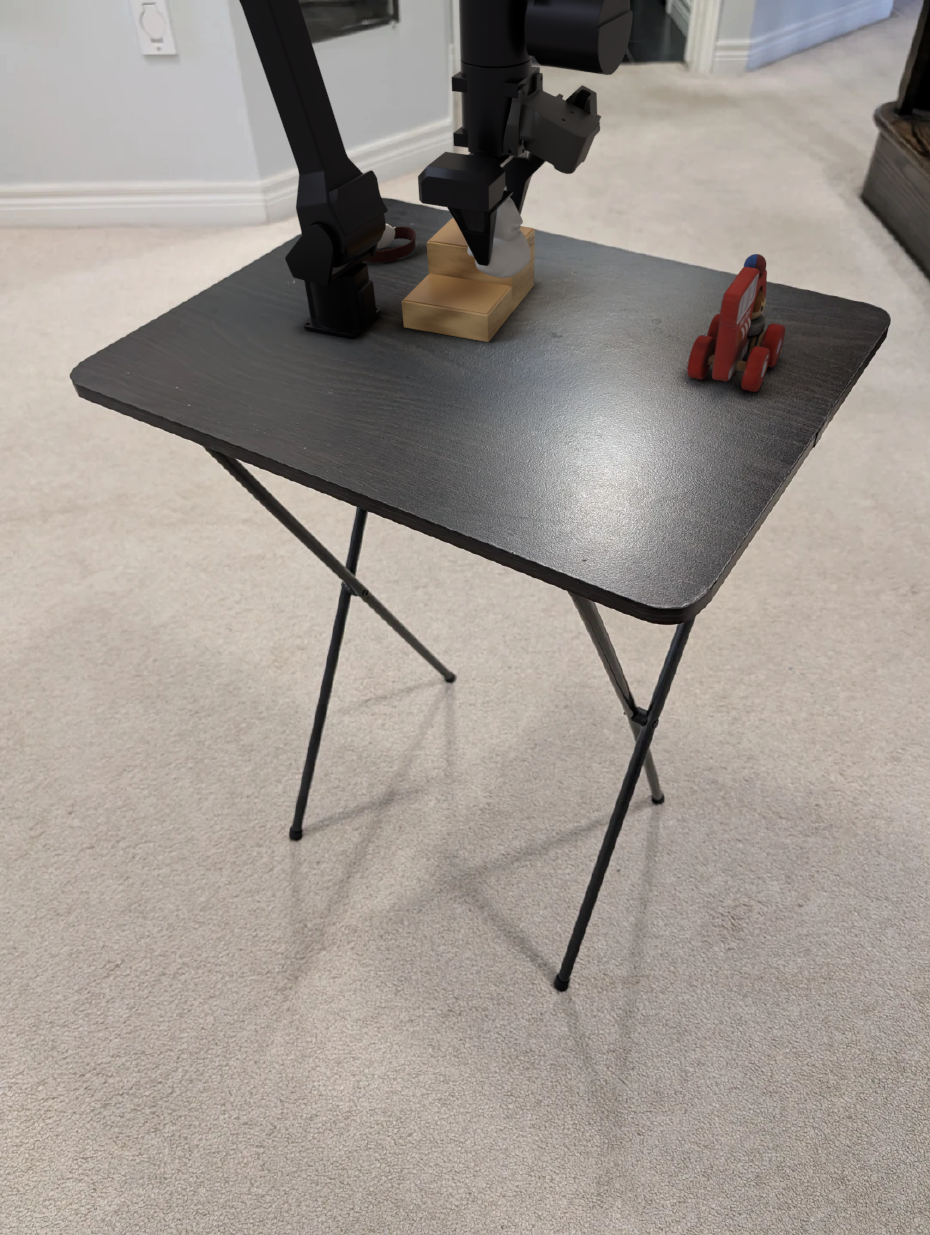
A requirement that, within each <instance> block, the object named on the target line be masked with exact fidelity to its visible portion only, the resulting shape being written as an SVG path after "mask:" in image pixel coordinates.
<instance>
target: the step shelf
mask: <svg viewBox="0 0 930 1235" xmlns="http://www.w3.org/2000/svg"><path fill="white" fill-rule="evenodd" d="M519 231H521V232H522V233H523V234H524V236H525V238H526V240H527V242H528V245H529V247H530V261H529V263H528V264H527V265H526V266H525V267H524V268H523V269H522V270H521V271H520V272H518V273H517V274H515V275H514V276H512V277H509V278H497V277H493V276H489V275H487V274H485V273H484V272H481V271H479V270H478V269H477V267H476V263H475V258H474V257H473V256H470V255H469V254H468V244H467V242H466V240H465V238H464V236H463V234H462V232H461V230H460V229H459V227H458V225H457V223H456V221H455V220H454V218H453V217H452V218H451V219H449V221H448V222H446V223H445V224H444V225H443V226H442V227H441V228H440V229H439V230H437V232H436V233H434V235H432V236H431V238H430V239H428V241H427V242H426V250H427V254H426V255H427V267H428V274H427V275H426V276H425V277H424V278H423V279H422V280H421V281H420V282H419V283H418V284H417V285H416V286H415V287H414V288H413V289H412V290H411V291H410V292H409V293H408V294H407V295H406V296H405V297H404V298H403V299H402V300H401V311H402V312H401V313H402V321H403V328H406V329H411V330H418V331H422V332H423V331H424V332H429V333H434V334H440V335H445V336H451V337H456V338H461V339H467V340H468V339H469V340H474V341H479V342H484V343H485V342H486V343H489V342H490V341H491V340H492V338H494V336H495V335H496V333H497V332H498V331H499V330H500V329H501V327H502V326H503V325H504V323H505V322H506V321H507V320H508V319H509V317H510V316H511V315H512V313H513V312H514V311H515V310H516V308H517V307H519V305H520V304H521V302H522V301H523V300H524V299H525V297H526V296H527V295H528V294H529V293H530V291H531V290H532V289H533V287H534V286H535V256H536V255H535V252H536V249H535V248H536V229H535V228H534V227H529V226H521V228H520V230H519Z"/></svg>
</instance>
